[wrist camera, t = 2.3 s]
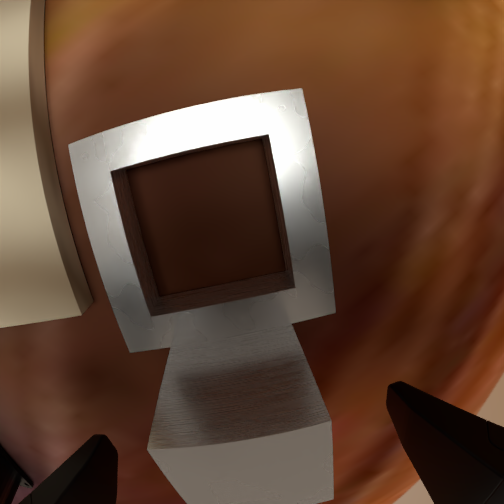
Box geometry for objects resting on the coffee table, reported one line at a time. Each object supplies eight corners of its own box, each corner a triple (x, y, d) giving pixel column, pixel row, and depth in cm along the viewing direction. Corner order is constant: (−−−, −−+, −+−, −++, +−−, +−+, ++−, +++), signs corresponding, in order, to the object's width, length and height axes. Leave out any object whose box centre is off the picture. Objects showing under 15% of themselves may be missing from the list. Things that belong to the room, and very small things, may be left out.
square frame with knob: (88, 146, 9) (-31, 141, 4) (290, 99, 9) (367, 31, 4) (172, 405, 12) (155, 520, 7) (329, 375, 13) (380, 483, 7)
